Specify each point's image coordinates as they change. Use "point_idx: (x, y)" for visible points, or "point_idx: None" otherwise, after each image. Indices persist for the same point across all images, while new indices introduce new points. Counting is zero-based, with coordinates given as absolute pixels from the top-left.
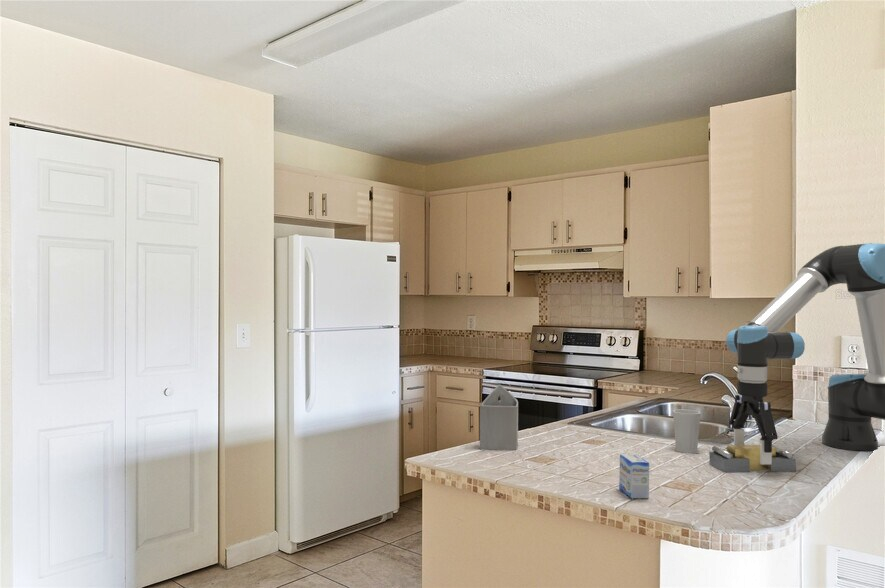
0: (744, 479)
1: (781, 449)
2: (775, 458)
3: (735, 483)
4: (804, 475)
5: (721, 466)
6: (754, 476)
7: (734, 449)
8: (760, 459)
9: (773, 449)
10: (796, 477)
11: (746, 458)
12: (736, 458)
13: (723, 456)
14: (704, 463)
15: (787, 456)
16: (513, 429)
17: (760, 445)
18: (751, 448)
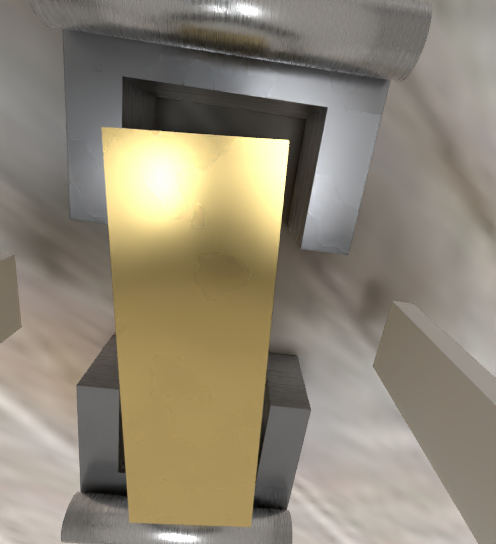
0: (404, 452)
1: (244, 12)
2: (344, 204)
3: (441, 514)
4: (465, 43)
5: None
6: (376, 381)
7: (241, 521)
8: (389, 387)
9: (284, 173)
10: (480, 152)
11: (291, 419)
12: (278, 474)
13: None
14: None
15: (388, 78)
16: None
17: (448, 486)
18: (255, 406)
